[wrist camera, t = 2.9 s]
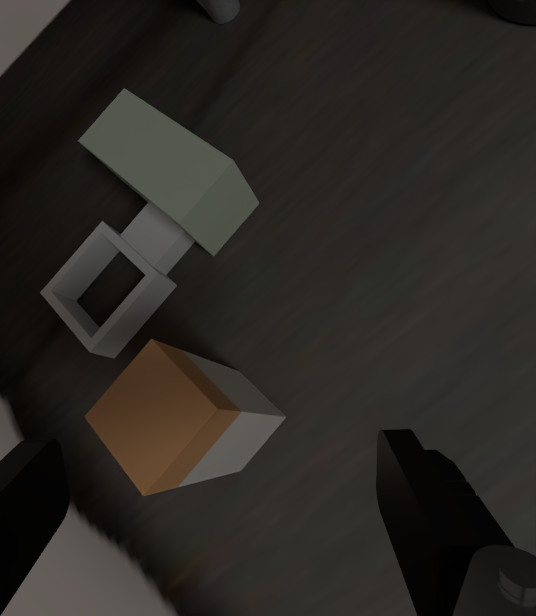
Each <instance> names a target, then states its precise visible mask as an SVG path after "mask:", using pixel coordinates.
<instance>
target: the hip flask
mask: <svg viewBox="0 0 536 616" xmlns="http://www.w3.org/2000/svg"><path fill="white" fill-rule="evenodd" d="M196 1H197V2H198V3H199V4H200V5H201V6H202V7H203V8H204V9H205V10H206V11H207V13H208V14H209V15H210V17H211V18H212V20H213V21H214V22H215V23H218V24H223V23H227V22H229V21H231V20H232V19H233V18H234V17H235V16H236V15H237V14H238V12H239V9H240V4H239V1H238V0H196Z"/></svg>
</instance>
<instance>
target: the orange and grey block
mask: <svg viewBox="0 0 536 616" xmlns="http://www.w3.org/2000/svg"><path fill="white" fill-rule="evenodd" d="M85 418H86V420H87V421H88V422H89V424H90V425H91V426H92V428H93V429H94V431H95V432H96V433H97V435H98V436H99V437H100V439H101V440H102V441H103V443H104V444H105V445H106V447H107V448H108V449H109V451H110V452H111V453H112V455H113V456H114V457H115V459H116V460H117V461H118V463H119V464H120V465H121V467H122V468H123V469H124V471H125V472H126V473H127V475H128V476H129V478H130V479H131V480H132V482H133V483H134V484H135V486H136V487H137V488H138V490H139V491H140V492H141V494H142V495H143V496H146V495H150V494H154V493H158V492H161V491H165V490H169V489H173V488H177V487H181V486H184V485H188V484H192V483H196V482H200V481H204V480H208V479H211V478H215V477H219V476H223V475H227V474H231V473H234V472H238V471H241V470H242V469H243V468H244V466H245V465H246V464H247V463H248V462H249V461H250V459H251V458H252V457H253V456H254V455H255V453H256V452H257V451H258V450H259V449H260V448H261V446H262V445H263V444H264V443H265V442H266V440H267V439H268V438H269V437H270V436H271V435H272V433H273V432H274V431H275V430H276V429H277V427H278V426H279V425H280V424H281V423H282V421H283V420H284V419H285V418H286V416H285V415H284V414H283V413H282V412H281V411H280V410H279V409H278V408H277V407H276V406H275V405H273V404H272V403H271V402H270V401H269V400H268V399H267V398H266V397H265V396H264V395H263V394H262V393H261V392H260V391H259V390H258V389H257V388H256V387H255V386H254V385H253V384H252V383H251V382H250V381H249V380H248V379H247V378H246V377H245V376H243V375H242V374H241V373H240V372H239V371H237V370H234V369H232V368H229V367H226V366H223V365H221V364H218V363H215V362H213V361H210V360H207V359H205V358H202V357H199V356H196V355H194V354H191V353H188V352H186V351H183V350H180V349H177V348H175V347H172V346H169V345H167V344H164V343H161V342H159V341H156V340H153V339H151V340H150V341H149V342H148V343H147V344H146V346H145V347H144V348H143V349H142V350H141V351H140V353H139V354H138V355H137V356H136V357H135V358H134V360H133V361H132V362H131V363H130V364H129V365H128V367H127V368H126V369H125V370H124V371H123V372H122V374H121V375H120V376H119V377H118V378H117V379H116V381H115V382H114V383H113V384H112V385H111V386H110V388H109V389H108V390H107V391H106V392H105V393H104V395H103V396H102V397H101V398H100V399H99V400H98V401H97V403H96V404H95V405H94V406H93V407H92V408H91V410H90V411H89V412H88V413H87V414H86V415H85Z"/></svg>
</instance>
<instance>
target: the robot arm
mask: <svg viewBox="0 0 536 616" xmlns="http://www.w3.org/2000/svg"><path fill="white" fill-rule="evenodd" d="M487 1H488V4H489V5H490V6H491V7H492V9H493V10H494V11H495V12H497V13H498V14H499V15H501V16H502V17H504V18H506V19H509V20H511V21H514V22H519V23H523V24H536V0H487ZM376 490H377V499H378V505H379V509H380V513H381V516H382V518H383V521H384V524H385V527H386V529H387V532H388V535H389V538H390V541H391V543H392V546H393V549H394V552H395V554H396V557H397V560H398V563H399V566H400V568H401V571H402V574H403V577H404V579H405V582H406V585H407V588H408V591H409V593H410V596H411V599H412V602H413V605H414V607H415V610H416V613H417V616H536V556H534V555H533V554H530V553H528V552H526V551H524V550H521V549H518V548H515V547H514V545H513V544H512V543H511V541H510V540H509V538H508V537H507V536H506V534H505V533H504V531H503V530H502V529H501V527H500V526H499V524H498V523H497V522H496V520H495V519H494V517H493V516H492V515H491V513H490V512H489V511H488V509H487V508H486V506H485V505H484V504H483V502H482V501H481V499H480V498H479V497H478V496H476V494H475V491H474V490H473V488H472V487H471V485H470V484H469V483H468V482H466V478H465V477H464V476H463V474H462V473H461V472H460V470H459V469H458V467H457V466H456V465H455V463H454V462H452V461H451V460H450V459H448V458H447V457H445V456H444V455H443V454H441V453H440V452H438V451H437V450H424V448H423V447H422V445H421V444H420V442H419V440H418V439H417V437H416V436H415V434H414V433H413V431H412V430H410V429H401V430H380V431H379V433H378V445H377V477H376ZM69 499H70V493H69V487H68V481H67V476H66V470H65V465H64V459H63V454H62V449H61V445H60V443H59V442H58V441H57V440H56V439H44V440H24V441H21V442H20V443H19V444H18V445H17V446H16V447H15V448H13V449H12V450H11V451H10V452H9V453H8V454H7V455H6V456H5V457H4V458H3V459H2V460H1V461H0V615H1V614H2V612H3V611H4V609H5V608H6V606H7V605H8V603H9V602H10V600H11V599H12V597H13V595H14V594H15V593H16V591H17V590H18V588H19V587H20V585H21V584H22V582H23V581H24V579H25V578H26V576H27V575H28V573H29V571H30V570H31V569H32V567H33V566H34V564H35V562H36V561H37V559H38V558H39V556H40V555H41V553H42V552H43V550H44V549H45V547H46V546H47V544H48V543H49V541H50V540H51V538H52V536H53V535H54V533H55V532H56V531H57V529H58V528H59V526H60V525H61V523H62V522H63V520H64V518H65V516H66V513H67V510H68V506H69Z"/></svg>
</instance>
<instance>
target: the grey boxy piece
mask: <svg viewBox="0 0 536 616" xmlns="http://www.w3.org/2000/svg"><path fill="white" fill-rule="evenodd" d="M78 141H79V142H80V143H81V144H82V145H83V146H84V147H85V148H86V149H88V150H89V151H90V152H91V153H92V154H93V155H94V156H95V157H96V158H98V159H99V160H100V161H101V162H102V163H103V164H104V165H105V166H106V167H107V168H109V169H110V170H111V171H112V172H113V173H114V174H115V175H116V176H117V177H119V178H120V179H121V180H122V181H123V182H124V183H125V184H127V185H128V186H129V187H130V188H132V189H133V190H134V191H135V192H136V193H138V194H139V195H140V196H141V197H142V198H144V199H145V200H146V201H147V202H148V204H147V205H146V206H145V207H144V208H143V209H142V211H141V212H140V213H139V214H138V215H137V216H136V217H135V219H134V220H133V221H132V222H131V223H130V224H129V226H128V227H127V228H126V229H125V230H124V231H123V232H122V234H120V233H119V232H117V231H116V230H114V229H113V228H112V227H110V226H109V225H107V224H106V223H105V222H103V221H102V222H101V223H100V224H99V225H98V227H97V228H96V229H95V230H94V231H93V232H92V234H91V235H90V236H89V237H88V238H87V239H86V240H85V242H84V243H83V244H82V245H81V246H80V247H79V248H78V250H77V251H76V252H75V253H74V254H73V255H72V257H71V258H70V259H69V260H68V261H67V262H66V263H65V265H64V266H63V267H62V268H61V269H60V270H59V271H58V273H57V274H56V275H55V276H54V277H53V278H52V280H51V281H50V282H49V283H48V284H47V285H46V286H45V288H44V289H43V290H42V291H41V292H40V293H41V294H42V295H43V297H44V298H45V299H46V300H47V301H48V303H49V304H50V305H51V306H52V307H53V309H54V310H55V311H56V312H57V313H58V315H59V316H60V317H61V318H62V320H63V321H64V322H65V323H66V324H67V326H68V327H69V328H70V329H71V330H72V332H73V333H74V334H75V335H76V336H77V338H78V339H79V340H80V341H81V342H82V344H83V345H84V346H85V347H86V348H87V350H88V351H89V352H90V353H94V354H98V355H102V356H106V357H110V358H115V357H116V356H117V355H118V354H119V353H120V351H121V350H122V349H123V348H124V347H125V346H126V345H127V343H128V342H129V341H130V340H131V339H132V338H133V336H134V335H135V334H136V333H137V332H138V331H139V329H140V328H141V327H142V326H143V325H144V324H145V322H146V321H147V320H148V319H149V318H150V317H151V315H152V314H153V313H154V312H155V311H156V310H157V308H158V307H159V306H160V305H161V304H162V303H163V302H164V300H165V299H166V298H167V297H168V296H169V295H170V293H171V292H172V291H173V290H174V289H175V288H176V286H177V285H176V284H175V283H174V282H173V281H172V280H171V279H170V278H169V277H168V276H166V275H167V273H168V272H169V271H170V270H171V269H172V268H173V267H174V265H175V264H176V263H177V262H178V261H179V260H180V258H181V257H182V256H183V255H184V254H185V253H186V251H187V250H188V249H189V248H190V247H191V246H192V244H193V243H194V242H197V243H198V244H199V245H200V246H202V247H203V248H204V249H205V250H206V251H208V252H209V253H210V254H211V255H212V256H215V255H216V253H217V252H218V251H219V250H220V249H221V248H222V246H223V245H224V244H225V243H226V242H227V241H228V240H229V238H230V237H231V236H232V235H233V234H234V233H235V231H236V230H237V229H238V228H239V227H240V226H241V224H242V223H243V222H244V221H245V220H246V219H247V217H248V216H249V215H250V214H251V213H252V212H253V210H254V209H255V208H256V207H257V206H258V205H259V201H258V200H257V198H256V197H255V195H254V193H253V192H252V190H251V188H250V187H249V185H248V183H247V182H246V180H245V179H244V177H243V175H242V174H241V172H240V170H239V169H238V167H237V165H236V164H235V162H234V160H232V159H231V158H229V157H228V156H226V155H225V154H223V153H222V152H220V151H218V150H217V149H215V148H214V147H212V146H211V145H209V144H208V143H206V142H205V141H203V140H202V139H200V138H199V137H197V136H196V135H194V134H193V133H191V132H190V131H188V130H187V129H185V128H184V127H182V126H181V125H179V124H178V123H176V122H175V121H173V120H172V119H170V118H169V117H167V116H166V115H164V114H162V113H161V112H159V111H158V110H156V109H155V108H153V107H152V106H150V105H149V104H147V103H146V102H144V101H143V100H141V99H140V98H138V97H137V96H135V95H134V94H132V93H131V92H129V91H128V90H126V89H125V88H124V89H123V90H122V91H121V93H120V94H119V95H118V96H117V97H116V98H115V99H114V101H113V102H112V103H111V104H110V105H109V106H108V107H107V109H106V110H105V111H104V112H103V113H102V114H101V115H100V117H99V118H98V119H97V120H96V121H95V122H94V123H93V125H92V126H91V127H90V128H89V129H88V130H87V131H86V132H85V134H84V135H83V136H82V137H81V138H80V139H79V140H78ZM119 251H121V252H122V253H123V254H124V255H125V256H126V257H127V258H128V259H129V260H130V261H131V262H132V263H134V264H135V265H136V266H137V267H138V268H139V269H140V270H141V271H142V272H143V273H144V274H145V277H144V278H143V279H142V280H141V281H140V282H139V284H138V285H137V286H136V287H135V288H134V289H133V291H132V292H131V293H130V294H129V295H128V296H127V297H126V299H125V300H124V301H123V302H122V303H121V304H120V306H119V307H118V308H117V309H116V310H115V311H114V313H113V314H112V315H111V316H110V317H109V318H108V319H107V321H106V322H105V323H104V324H103V325H102V326H101V328H99V326H98V325H97V324H96V323H95V322H94V321H93V320H92V318H91V317H90V316H89V315H88V314H87V313H86V312H85V310H84V309H83V308H82V307H81V306H80V305H79V304H78V302H77V300H78V298H79V297H80V296H81V295H82V294H83V293H84V291H85V290H86V289H87V288H88V287H89V286H90V285H91V283H92V282H93V281H94V280H95V279H96V278H97V276H98V275H99V274H100V273H101V272H102V271H103V270H104V268H105V267H106V266H107V265H108V264H109V263H110V261H111V260H112V259H113V258H114V257H115V256H116V254H117V253H118V252H119Z"/></svg>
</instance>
